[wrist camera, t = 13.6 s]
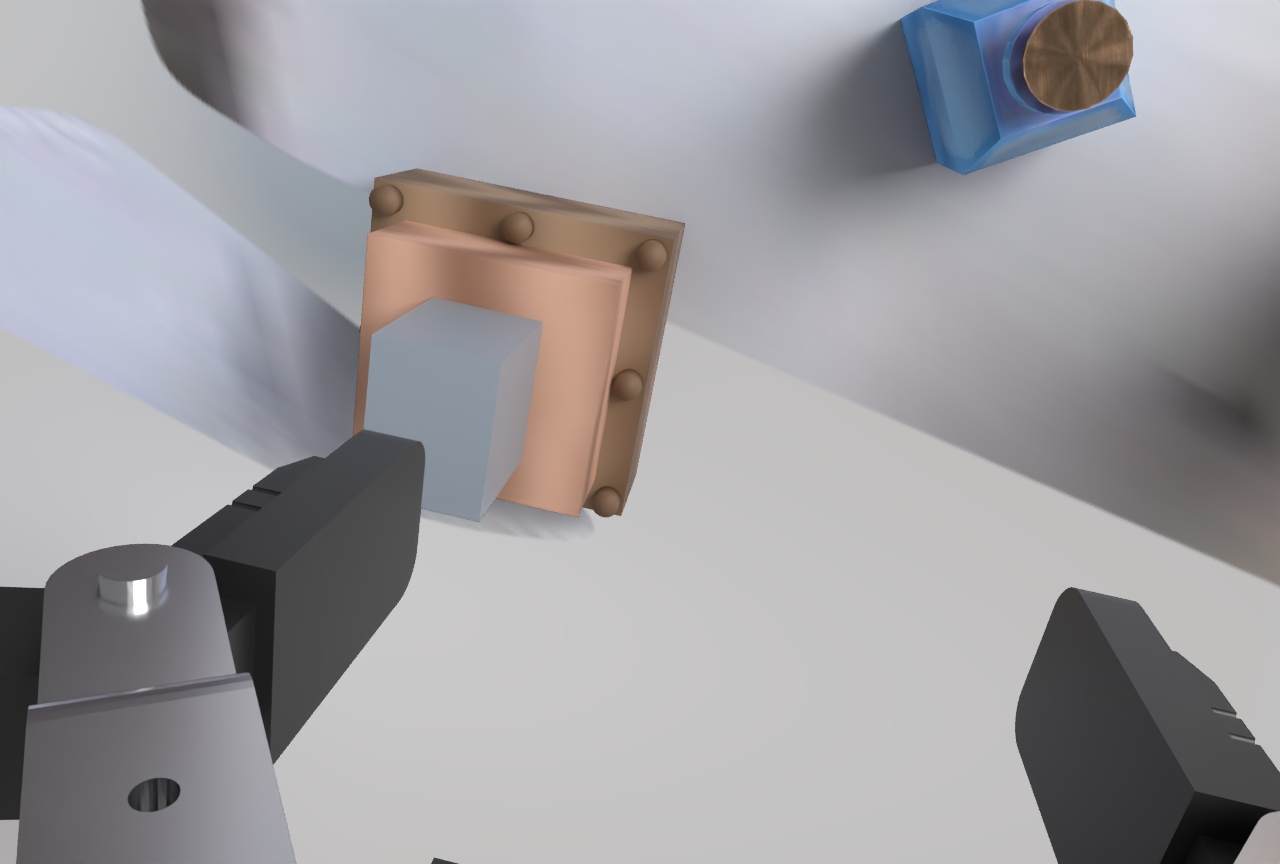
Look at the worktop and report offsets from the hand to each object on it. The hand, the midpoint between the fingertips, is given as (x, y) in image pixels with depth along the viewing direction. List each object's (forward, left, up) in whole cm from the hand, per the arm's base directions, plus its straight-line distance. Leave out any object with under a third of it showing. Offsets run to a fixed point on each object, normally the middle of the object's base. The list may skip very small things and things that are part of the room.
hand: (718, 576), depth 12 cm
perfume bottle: (-8, -8, -34) cm, 36 cm away
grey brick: (+10, +7, -25) cm, 27 cm away
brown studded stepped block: (+10, +7, -34) cm, 36 cm away
